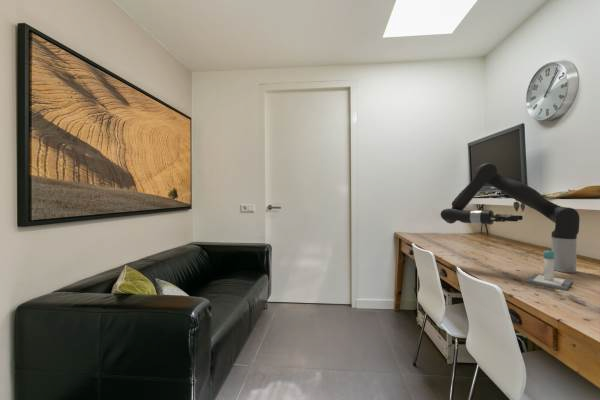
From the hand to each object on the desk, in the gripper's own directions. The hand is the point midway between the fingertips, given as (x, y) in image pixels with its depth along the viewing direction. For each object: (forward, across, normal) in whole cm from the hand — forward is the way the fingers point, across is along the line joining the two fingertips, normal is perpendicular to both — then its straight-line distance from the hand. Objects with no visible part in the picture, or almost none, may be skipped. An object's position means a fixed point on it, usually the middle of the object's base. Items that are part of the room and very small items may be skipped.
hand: (520, 218), depth 128 cm
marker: (+10, -3, +27) cm, 29 cm away
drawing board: (+10, -3, +28) cm, 30 cm away
